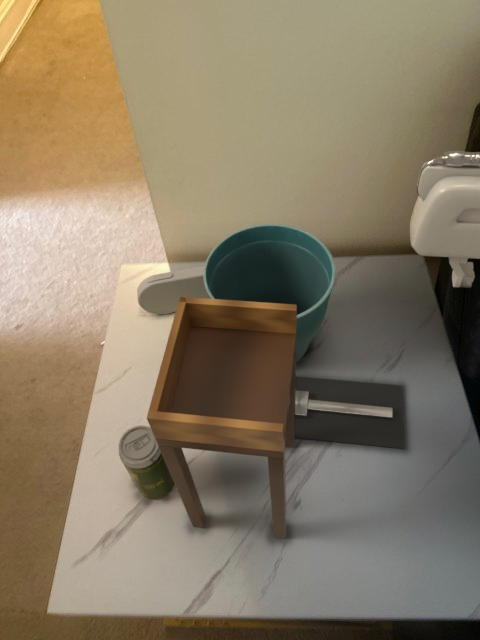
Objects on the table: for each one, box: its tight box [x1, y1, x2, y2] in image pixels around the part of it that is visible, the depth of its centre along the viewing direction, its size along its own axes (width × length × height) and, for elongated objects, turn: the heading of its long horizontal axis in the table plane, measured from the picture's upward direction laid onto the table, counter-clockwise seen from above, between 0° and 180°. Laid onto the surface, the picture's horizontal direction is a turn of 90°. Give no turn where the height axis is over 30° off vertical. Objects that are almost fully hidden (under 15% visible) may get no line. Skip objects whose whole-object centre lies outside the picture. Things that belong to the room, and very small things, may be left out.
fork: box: [295, 390, 393, 420], centre depth 81 cm, size 18×4×1 cm, turn 81°
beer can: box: [118, 424, 175, 500], centre depth 72 cm, size 5×5×12 cm
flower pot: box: [203, 223, 337, 363], centre depth 83 cm, size 18×18×17 cm
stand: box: [146, 297, 297, 540], centre depth 64 cm, size 12×14×30 cm
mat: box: [295, 375, 405, 450], centre depth 82 cm, size 22×10×1 cm, turn 82°
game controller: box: [136, 265, 210, 315], centre depth 93 cm, size 20×2×8 cm, turn 100°
